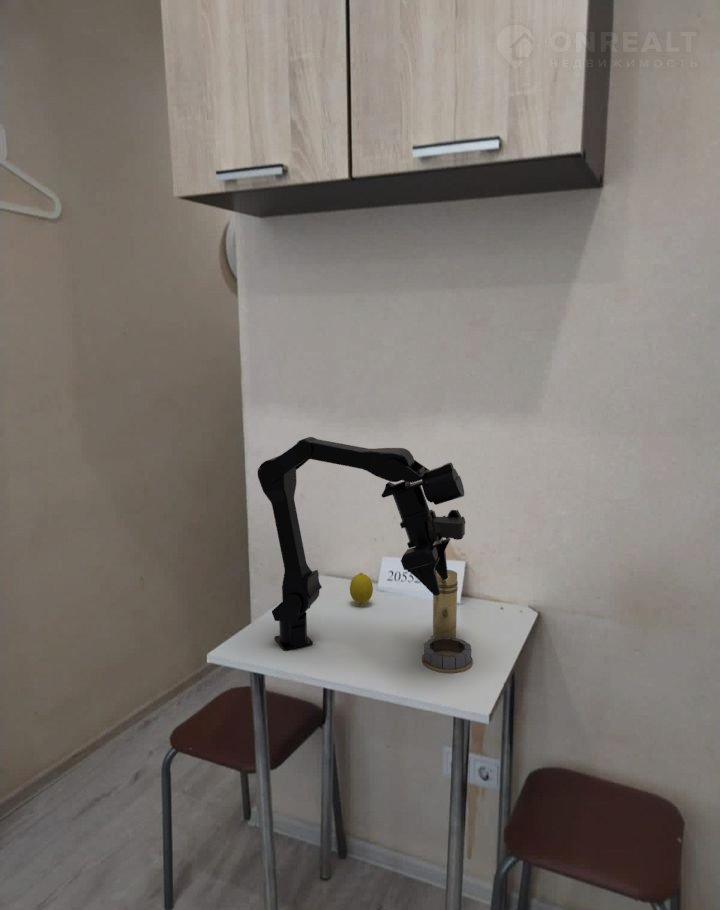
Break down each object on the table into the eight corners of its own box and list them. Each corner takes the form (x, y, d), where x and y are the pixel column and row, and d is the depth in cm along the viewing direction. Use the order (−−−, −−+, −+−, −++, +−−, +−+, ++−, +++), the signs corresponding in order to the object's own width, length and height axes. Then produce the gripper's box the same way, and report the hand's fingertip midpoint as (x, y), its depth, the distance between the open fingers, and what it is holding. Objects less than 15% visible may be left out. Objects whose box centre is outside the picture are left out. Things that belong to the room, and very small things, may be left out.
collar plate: (412, 656, 134) (412, 653, 134) (453, 645, 139) (453, 643, 139) (439, 677, 125) (439, 675, 125) (483, 666, 130) (483, 663, 130)
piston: (427, 633, 145) (428, 571, 142) (447, 629, 147) (448, 568, 145) (441, 643, 140) (441, 579, 138) (461, 638, 142) (462, 575, 140)
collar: (415, 654, 134) (415, 642, 134) (453, 644, 138) (453, 633, 138) (440, 673, 126) (440, 661, 125) (480, 663, 130) (480, 651, 129)
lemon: (359, 598, 165) (359, 567, 164) (377, 603, 162) (377, 572, 160) (345, 605, 161) (344, 573, 160) (363, 611, 157) (362, 578, 156)
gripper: (445, 511, 117) (475, 593, 118) (460, 489, 135) (486, 561, 136) (387, 528, 121) (417, 608, 122) (410, 505, 139) (435, 575, 139)
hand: (441, 586), depth 130 cm, fingers open, 9 cm apart
